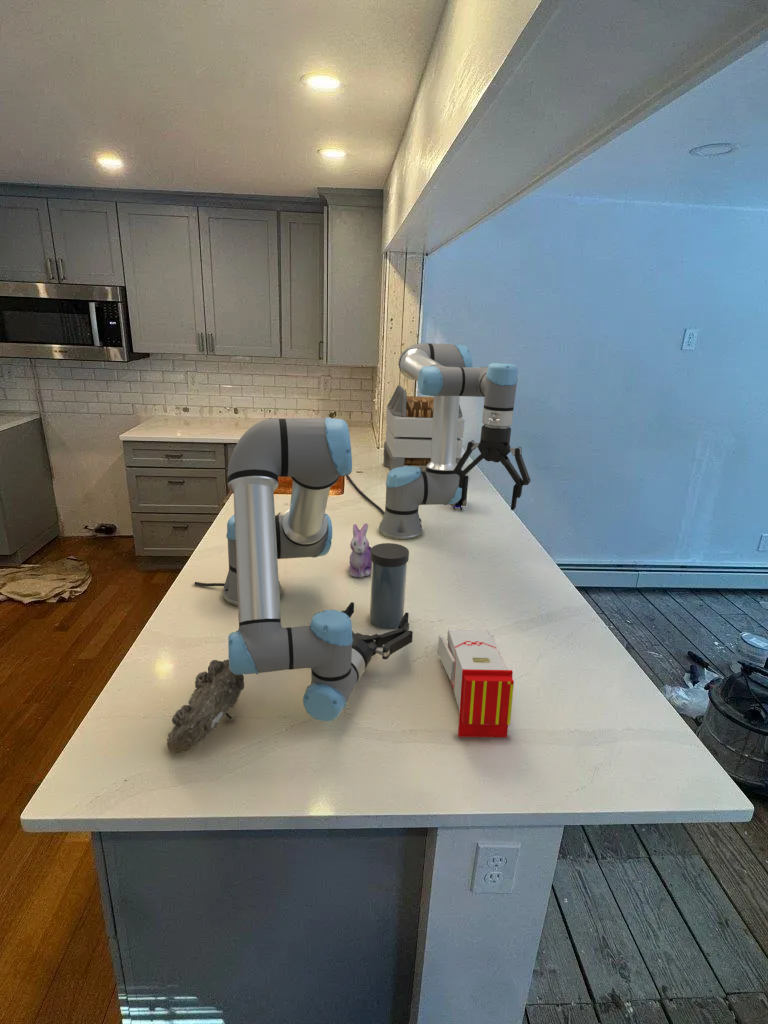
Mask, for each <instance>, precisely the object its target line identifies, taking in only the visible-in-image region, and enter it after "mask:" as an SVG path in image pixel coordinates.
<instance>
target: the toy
mask: <svg viewBox="0 0 768 1024" xmlns="http://www.w3.org/2000/svg"><path fill="white" fill-rule="evenodd" d="M446 640H447V643H446V641H445V639H444V636H443V635H442V634H439V637H438V646H437V656H438V657H439V659H440V661H441V663H442V666H443V668H444V670H445V672H446V674H447V677H448V679H449V681H450V684H451V687H452V690H453V693H454V697H455V701H456V705H457V708H458V711H459V714H458V715H459V716H458V730H457V731H458V732H457V737H458V738H508V731H509V726H510V725H511V717H512V707H513V697H514V696H513V695H514V684H515V680H514V679H513V673H514V671H513V670H512V669H508V667H507V665H506V662H505V661H504V659H503V658H502V655H501V653H500V651H499V649H498V647H497V643H496V639H495V637H494V635H493V634H491V632H490V631H489V629H467V628H466V629H465V628H463V629H461V628H460V629H459V628H448V630H447V639H446Z"/></svg>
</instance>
